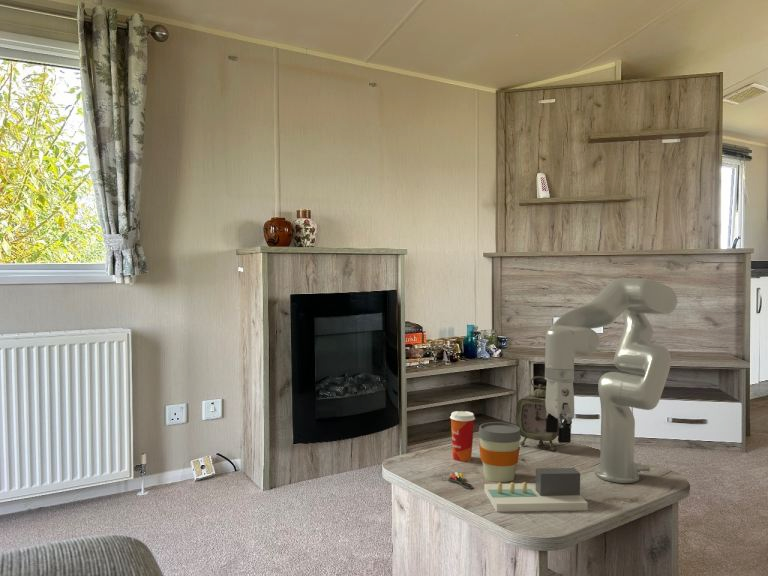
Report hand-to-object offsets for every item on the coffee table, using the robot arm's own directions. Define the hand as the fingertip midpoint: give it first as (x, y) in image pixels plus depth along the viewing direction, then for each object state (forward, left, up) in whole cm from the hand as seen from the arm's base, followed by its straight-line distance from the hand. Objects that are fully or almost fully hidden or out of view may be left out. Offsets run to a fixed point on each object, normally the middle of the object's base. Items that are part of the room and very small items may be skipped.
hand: (557, 437), depth 158 cm
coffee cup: (+19, -35, -18) cm, 44 cm away
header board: (+6, 0, -17) cm, 18 cm away
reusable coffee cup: (+11, -18, -18) cm, 28 cm away
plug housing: (0, 0, -15) cm, 15 cm away
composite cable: (+24, -13, -18) cm, 33 cm away
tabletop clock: (-11, -47, -18) cm, 51 cm away
